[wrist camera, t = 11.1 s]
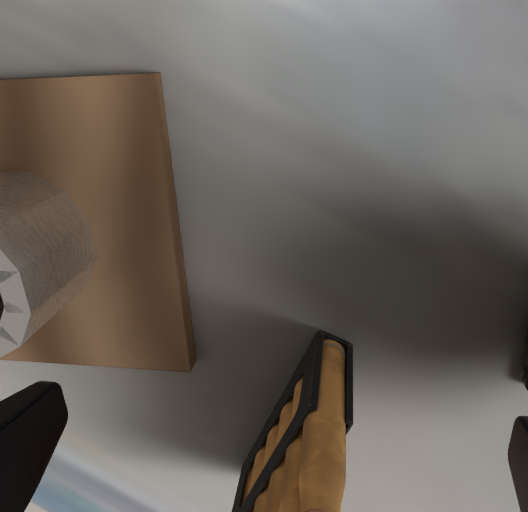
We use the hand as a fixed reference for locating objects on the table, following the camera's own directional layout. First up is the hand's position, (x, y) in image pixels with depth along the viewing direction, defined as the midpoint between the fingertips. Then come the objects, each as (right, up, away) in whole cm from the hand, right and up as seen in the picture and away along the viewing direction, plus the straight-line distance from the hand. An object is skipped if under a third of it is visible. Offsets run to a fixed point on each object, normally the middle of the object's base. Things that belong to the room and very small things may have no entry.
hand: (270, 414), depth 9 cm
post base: (-11, +4, +13) cm, 18 cm away
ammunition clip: (+1, -5, +16) cm, 17 cm away
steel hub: (-11, +4, +12) cm, 17 cm away
